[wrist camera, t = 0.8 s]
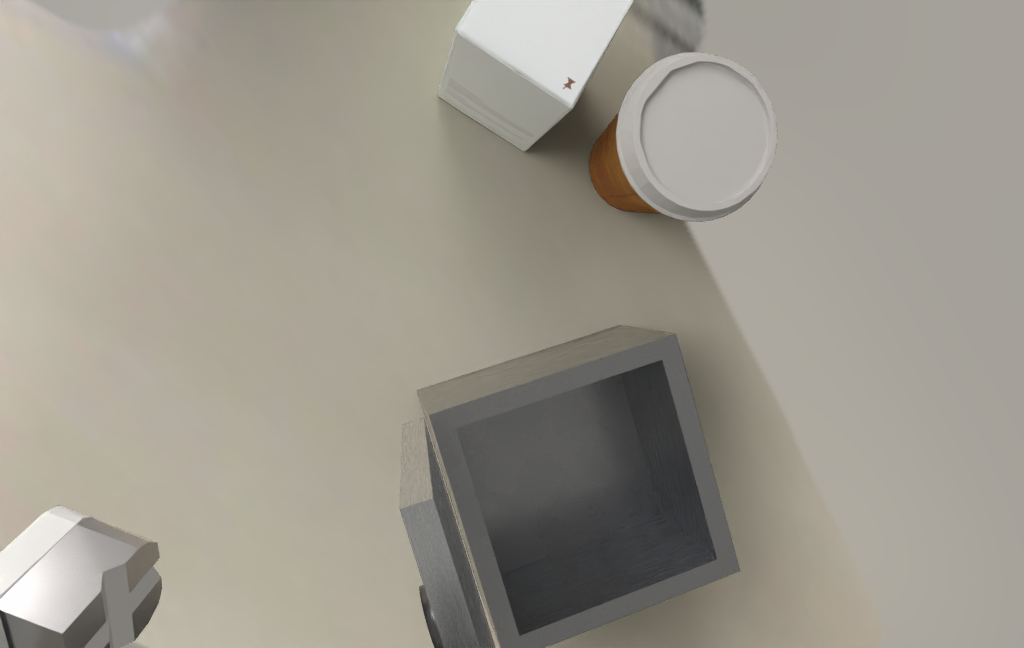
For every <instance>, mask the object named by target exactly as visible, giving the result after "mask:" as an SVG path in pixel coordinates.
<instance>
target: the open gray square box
mask: <svg viewBox="0 0 1024 648" xmlns="http://www.w3.org/2000/svg"><path fill="white" fill-rule="evenodd" d="M417 391H418V395H419V398H420V401H421V404H422V408H423V411H424V414H425V417H426V420H427V424H428V427H429V430H430V433H431V436H432V440H433V443H434V446H435V449H436V453H437V456H438V459H439V462H440V465H441V469H442V472H443V475H444V478H445V481H446V485H447V488H448V491H449V494H450V498H451V501H452V504H453V507H454V510H455V514H456V517H457V520H458V523H459V526H460V530H461V533H462V536H463V539H464V543H465V546H466V549H467V552H468V555H469V559H470V562H471V565H472V568H473V572H474V575H475V578H476V581H477V584H478V588H479V591H480V594H481V597H482V599H483V602H484V605H485V608H486V610H487V613H488V616H489V619H490V621H491V624H492V627H493V629H494V632H495V635H496V638H497V640H498V643H499V646H500V648H545V647H547V646H550V645H552V644H555V643H558V642H560V641H563V640H565V639H568V638H570V637H573V636H575V635H578V634H581V633H583V632H586V631H588V630H591V629H593V628H596V627H598V626H601V625H603V624H606V623H609V622H611V621H614V620H616V619H619V618H621V617H624V616H626V615H629V614H632V613H634V612H637V611H639V610H642V609H644V608H647V607H649V606H652V605H655V604H657V603H660V602H662V601H665V600H667V599H670V598H672V597H675V596H677V595H680V594H683V593H685V592H688V591H690V590H693V589H695V588H698V587H700V586H703V585H706V584H708V583H711V582H713V581H716V580H718V579H721V578H723V577H726V576H728V575H731V574H734V573H736V572H739V571H740V568H739V565H738V561H737V557H736V554H735V550H734V546H733V543H732V539H731V535H730V532H729V528H728V524H727V521H726V517H725V513H724V510H723V506H722V502H721V499H720V495H719V491H718V488H717V484H716V480H715V477H714V473H713V469H712V465H711V462H710V458H709V454H708V451H707V447H706V443H705V440H704V436H703V432H702V429H701V425H700V421H699V418H698V414H697V410H696V407H695V403H694V399H693V396H692V392H691V388H690V385H689V381H688V377H687V374H686V370H685V366H684V363H683V359H682V355H681V352H680V348H679V344H678V341H677V337H676V334H674V333H667V332H661V331H654V330H648V329H641V328H634V327H628V326H621V325H619V326H615V327H612V328H609V329H606V330H603V331H600V332H597V333H594V334H591V335H587V336H584V337H581V338H578V339H575V340H572V341H569V342H566V343H563V344H559V345H556V346H553V347H550V348H547V349H544V350H541V351H538V352H535V353H531V354H528V355H525V356H522V357H519V358H516V359H513V360H510V361H507V362H503V363H500V364H497V365H494V366H491V367H488V368H485V369H482V370H479V371H475V372H472V373H469V374H466V375H463V376H460V377H457V378H454V379H451V380H448V381H444V382H441V383H438V384H435V385H432V386H429V387H426V388H423V389H420V390H417Z"/></svg>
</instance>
